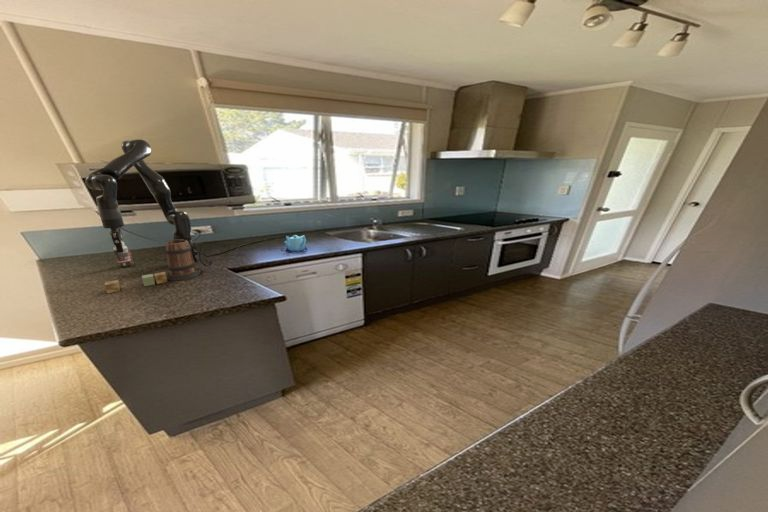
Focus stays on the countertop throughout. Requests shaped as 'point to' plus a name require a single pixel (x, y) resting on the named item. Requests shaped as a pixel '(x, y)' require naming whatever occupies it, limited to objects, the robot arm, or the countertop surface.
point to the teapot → (295, 243)
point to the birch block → (112, 286)
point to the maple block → (160, 277)
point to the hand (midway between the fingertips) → (121, 250)
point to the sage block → (148, 280)
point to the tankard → (182, 260)
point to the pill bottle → (122, 254)
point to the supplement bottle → (128, 262)
